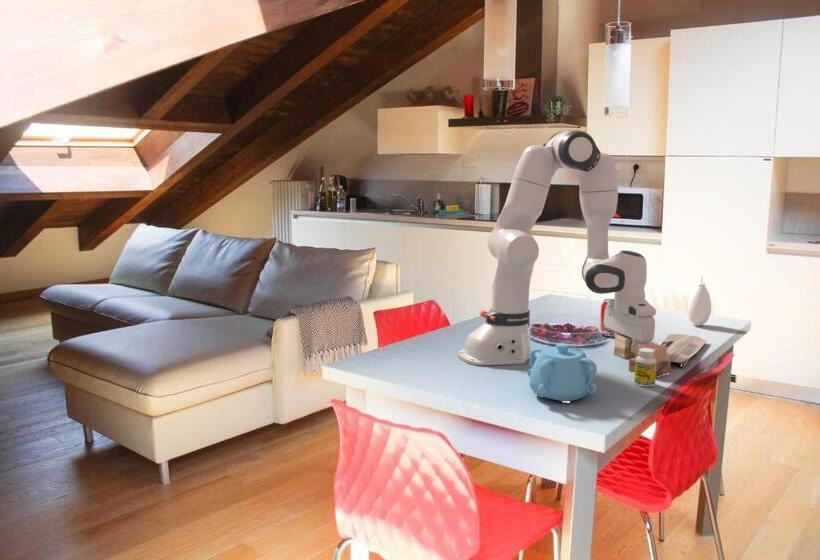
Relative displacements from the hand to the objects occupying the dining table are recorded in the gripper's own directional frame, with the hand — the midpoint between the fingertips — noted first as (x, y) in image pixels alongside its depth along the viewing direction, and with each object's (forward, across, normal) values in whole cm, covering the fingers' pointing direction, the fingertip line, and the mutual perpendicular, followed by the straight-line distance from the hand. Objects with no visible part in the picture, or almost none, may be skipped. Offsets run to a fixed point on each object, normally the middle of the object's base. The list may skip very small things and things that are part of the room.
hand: (626, 348), depth 216 cm
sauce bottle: (+2, -23, +48) cm, 53 cm away
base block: (+3, +16, -4) cm, 17 cm away
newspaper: (+3, +3, +18) cm, 18 cm away
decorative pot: (+2, +24, -38) cm, 45 cm away
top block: (-1, +16, -4) cm, 16 cm away
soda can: (+2, -22, +10) cm, 24 cm away
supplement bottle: (+2, +24, -12) cm, 27 cm away
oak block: (+2, 0, 0) cm, 2 cm away
